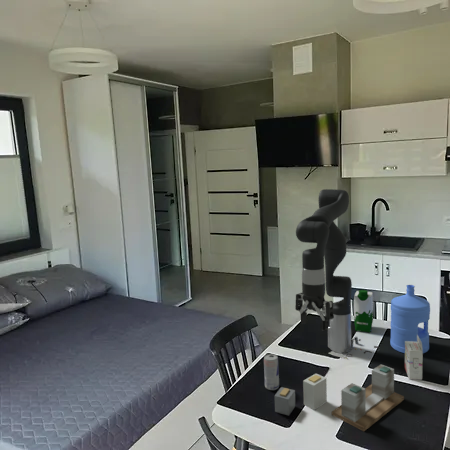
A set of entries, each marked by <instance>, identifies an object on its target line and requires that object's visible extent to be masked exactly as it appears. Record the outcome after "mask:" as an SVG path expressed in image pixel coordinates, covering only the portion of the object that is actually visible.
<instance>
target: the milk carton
mask: <svg viewBox="0 0 450 450" xmlns="http://www.w3.org/2000/svg"><path fill="white" fill-rule="evenodd" d="M373 293H374V292H372V291H368V290H367V289H360V290H356V292H355V293H354V295H353V296H354V298H353V322H354V330H355V331H356V332H363V333H365V332H366V333H371V330H372V329H373V324H374V323H373V322H374V295H373Z"/></svg>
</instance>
